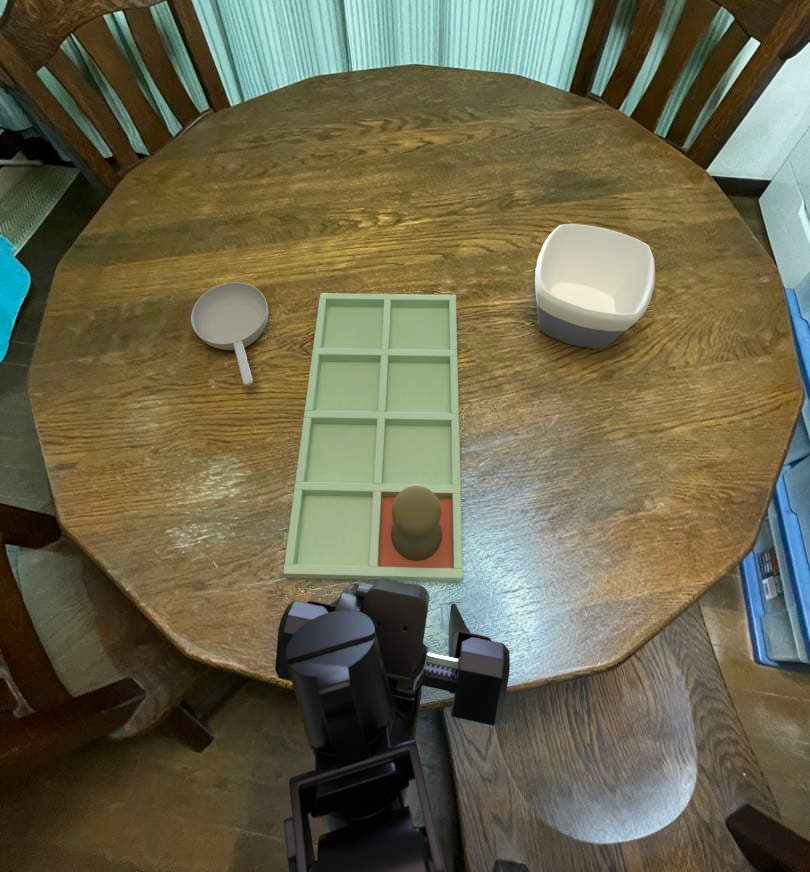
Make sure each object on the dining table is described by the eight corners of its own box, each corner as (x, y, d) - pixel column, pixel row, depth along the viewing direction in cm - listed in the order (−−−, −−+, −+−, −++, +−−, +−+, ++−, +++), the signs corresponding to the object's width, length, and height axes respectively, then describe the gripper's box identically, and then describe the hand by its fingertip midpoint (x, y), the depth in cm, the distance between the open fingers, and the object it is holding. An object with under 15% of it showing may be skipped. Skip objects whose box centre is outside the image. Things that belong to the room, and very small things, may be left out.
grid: (461, 582, 67) (463, 578, 65) (286, 577, 68) (282, 573, 66) (455, 304, 88) (455, 294, 86) (322, 302, 89) (320, 293, 87)
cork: (383, 551, 68) (378, 525, 59) (400, 502, 72) (397, 470, 62) (433, 568, 67) (436, 544, 58) (448, 517, 70) (452, 487, 61)
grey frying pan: (262, 287, 91) (257, 272, 87) (293, 384, 81) (288, 370, 78) (192, 308, 89) (184, 293, 85) (216, 410, 79) (207, 397, 76)
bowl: (537, 263, 92) (551, 212, 83) (638, 289, 89) (663, 239, 80) (513, 342, 84) (525, 295, 75) (622, 373, 81) (649, 328, 72)
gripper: (525, 668, 39) (516, 540, 54) (253, 611, 41) (318, 504, 56) (500, 805, 41) (497, 645, 56) (244, 744, 43) (308, 606, 58)
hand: (405, 598), depth 56 cm, fingers open, 9 cm apart
